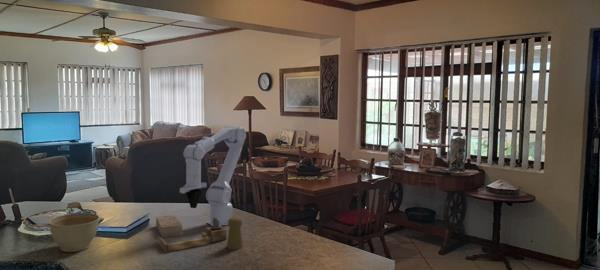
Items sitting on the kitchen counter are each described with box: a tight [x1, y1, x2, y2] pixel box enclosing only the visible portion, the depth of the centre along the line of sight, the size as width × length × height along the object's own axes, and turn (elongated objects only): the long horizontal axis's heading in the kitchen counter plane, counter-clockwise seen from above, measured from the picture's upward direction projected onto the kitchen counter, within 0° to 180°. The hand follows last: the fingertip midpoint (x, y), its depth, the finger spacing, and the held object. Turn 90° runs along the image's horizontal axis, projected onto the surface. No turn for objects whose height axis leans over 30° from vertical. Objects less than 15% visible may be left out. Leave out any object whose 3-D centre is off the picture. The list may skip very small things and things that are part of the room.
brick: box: [155, 214, 183, 238], centre depth 179 cm, size 17×8×5 cm, turn 26°
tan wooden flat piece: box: [157, 231, 212, 253], centre depth 163 cm, size 17×11×2 cm, turn 123°
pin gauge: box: [212, 218, 219, 231], centre depth 169 cm, size 2×2×8 cm
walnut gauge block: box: [205, 226, 227, 243], centre depth 169 cm, size 6×6×4 cm
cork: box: [226, 216, 244, 250], centre depth 160 cm, size 6×6×11 cm
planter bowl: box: [48, 212, 100, 253], centre depth 157 cm, size 16×16×11 cm
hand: (193, 207), depth 176 cm, fingers closed
